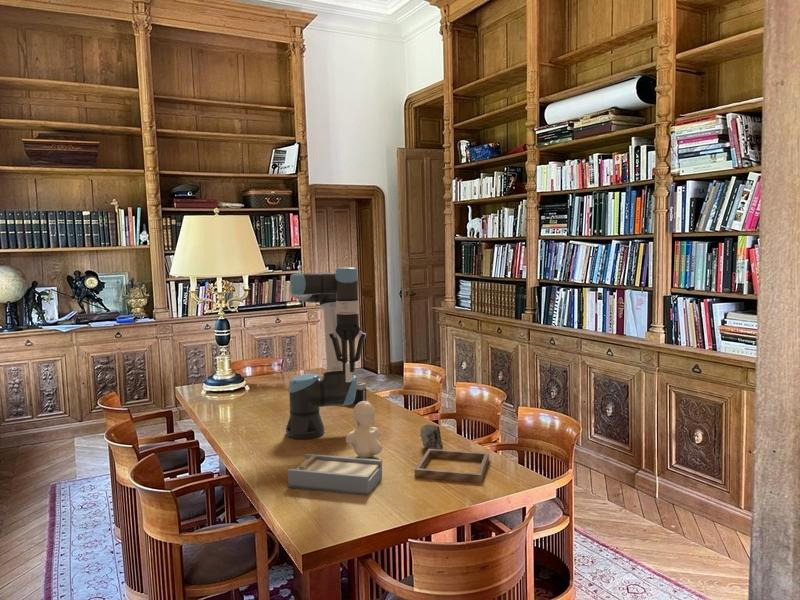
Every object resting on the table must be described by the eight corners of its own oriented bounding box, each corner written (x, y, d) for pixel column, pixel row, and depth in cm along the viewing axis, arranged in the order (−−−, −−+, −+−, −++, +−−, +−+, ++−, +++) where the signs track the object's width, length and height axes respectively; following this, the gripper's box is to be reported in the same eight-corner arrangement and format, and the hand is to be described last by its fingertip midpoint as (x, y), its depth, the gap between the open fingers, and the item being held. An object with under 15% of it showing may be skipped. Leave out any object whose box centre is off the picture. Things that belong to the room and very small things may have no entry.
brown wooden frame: (414, 476, 200) (414, 469, 200) (428, 455, 220) (428, 448, 219) (480, 482, 195) (480, 475, 194) (488, 460, 214) (488, 453, 214)
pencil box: (288, 487, 193) (287, 470, 192) (307, 470, 207) (307, 453, 207) (367, 495, 186) (367, 477, 186) (382, 476, 201) (381, 460, 200)
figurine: (355, 464, 212) (354, 407, 210) (342, 456, 219) (341, 401, 218) (388, 456, 219) (388, 401, 217) (375, 449, 227) (374, 396, 225)
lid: (292, 473, 194) (292, 467, 194) (307, 460, 205) (307, 454, 205) (367, 480, 188) (367, 473, 187) (378, 467, 199) (378, 460, 199)
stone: (446, 421, 225) (419, 419, 229) (440, 445, 219) (413, 442, 222) (449, 436, 232) (424, 433, 235) (444, 459, 226) (418, 456, 229)
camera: (371, 401, 295) (371, 380, 294) (361, 405, 288) (361, 384, 287) (348, 397, 303) (347, 377, 302) (337, 401, 296) (337, 380, 295)
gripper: (325, 314, 208) (327, 383, 210) (362, 314, 205) (364, 384, 207) (332, 311, 215) (334, 378, 217) (368, 311, 212) (370, 379, 214)
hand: (349, 381), depth 212 cm, fingers closed
